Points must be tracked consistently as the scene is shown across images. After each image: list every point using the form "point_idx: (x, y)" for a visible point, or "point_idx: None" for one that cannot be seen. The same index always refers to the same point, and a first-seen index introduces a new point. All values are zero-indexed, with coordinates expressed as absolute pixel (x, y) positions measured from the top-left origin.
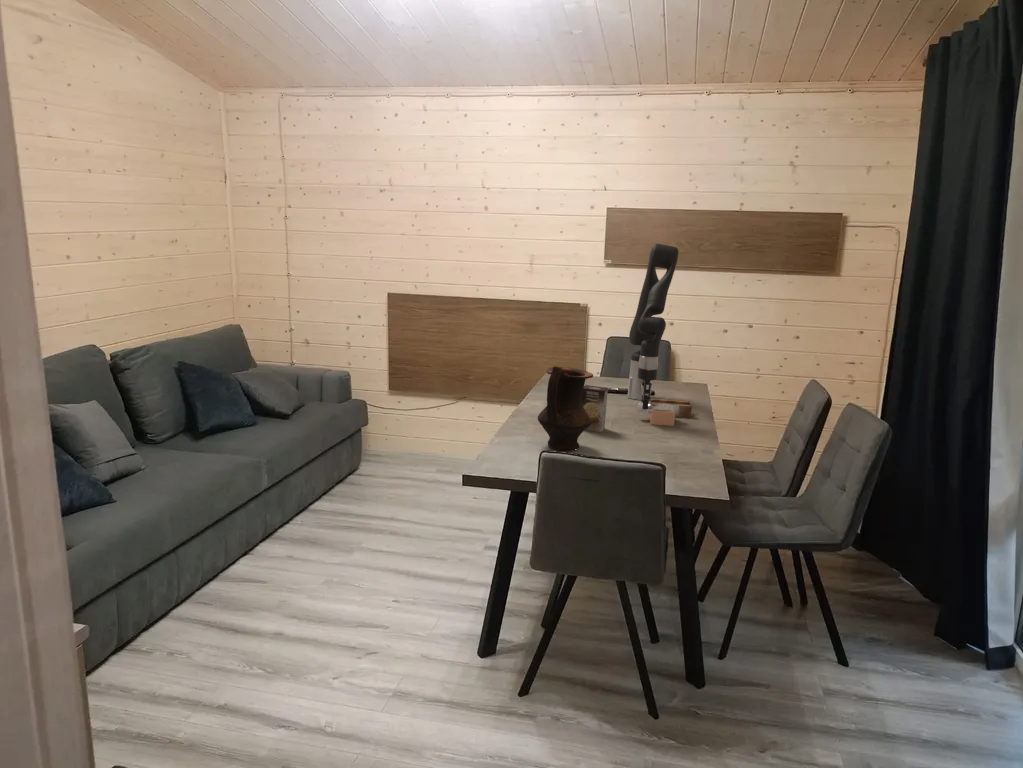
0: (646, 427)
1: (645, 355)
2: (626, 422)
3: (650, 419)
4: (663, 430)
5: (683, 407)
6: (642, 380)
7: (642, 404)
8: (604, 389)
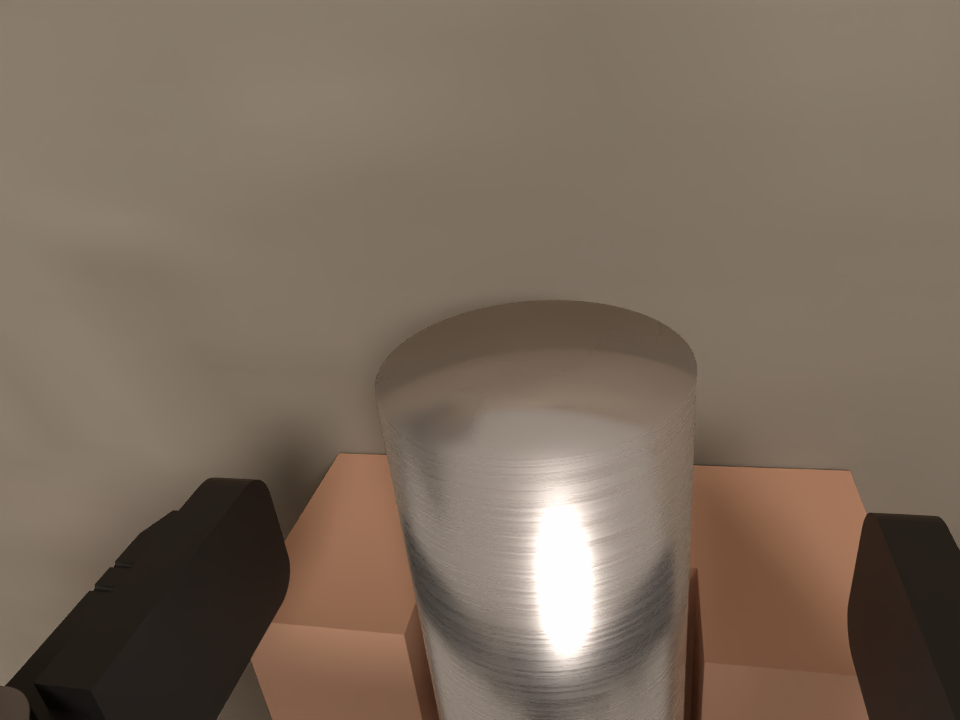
0: (104, 375)
1: None
2: (212, 6)
3: None
4: (106, 566)
5: None
6: None
7: (420, 538)
8: None
